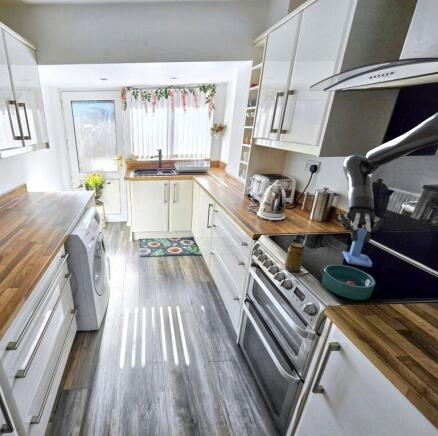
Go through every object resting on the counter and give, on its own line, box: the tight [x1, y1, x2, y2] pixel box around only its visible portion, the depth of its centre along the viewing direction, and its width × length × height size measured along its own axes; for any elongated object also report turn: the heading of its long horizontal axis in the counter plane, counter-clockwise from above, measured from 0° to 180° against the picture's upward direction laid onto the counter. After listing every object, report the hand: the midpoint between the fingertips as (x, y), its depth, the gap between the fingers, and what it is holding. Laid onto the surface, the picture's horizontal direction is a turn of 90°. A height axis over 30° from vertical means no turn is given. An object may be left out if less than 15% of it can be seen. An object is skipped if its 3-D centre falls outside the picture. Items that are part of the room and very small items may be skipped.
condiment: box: [280, 241, 309, 276], centre depth 105 cm, size 7×8×12 cm
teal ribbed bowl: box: [321, 263, 376, 301], centre depth 93 cm, size 15×15×6 cm
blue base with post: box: [342, 227, 373, 268], centre depth 86 cm, size 8×7×11 cm
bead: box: [346, 281, 356, 286], centre depth 92 cm, size 3×3×3 cm
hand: (360, 241), depth 86 cm, fingers closed on blue base with post, 2 cm apart
